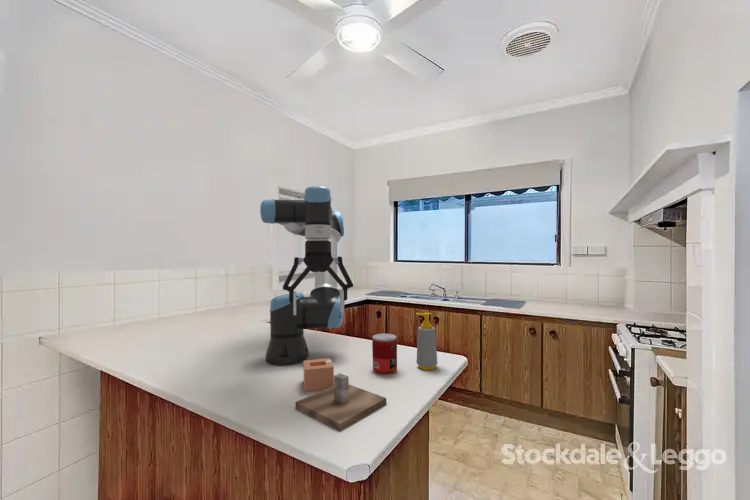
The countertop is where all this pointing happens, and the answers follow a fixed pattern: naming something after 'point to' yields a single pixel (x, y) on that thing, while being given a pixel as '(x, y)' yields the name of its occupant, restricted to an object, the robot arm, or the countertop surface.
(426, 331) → the soap bottle
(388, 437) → the countertop surface
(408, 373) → the countertop surface
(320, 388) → the orange open box
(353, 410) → the base plate
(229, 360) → the countertop surface
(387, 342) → the canned food
